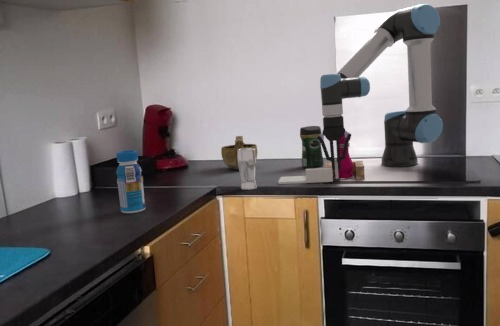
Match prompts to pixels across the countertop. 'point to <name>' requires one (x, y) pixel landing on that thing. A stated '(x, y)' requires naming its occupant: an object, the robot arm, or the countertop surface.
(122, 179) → the beverage bottle
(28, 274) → the countertop surface
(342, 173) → the pepper mill
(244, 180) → the beer glass
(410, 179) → the countertop surface
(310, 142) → the coffee jar
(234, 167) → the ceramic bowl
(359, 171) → the block
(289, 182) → the plate
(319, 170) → the white rectangular block
